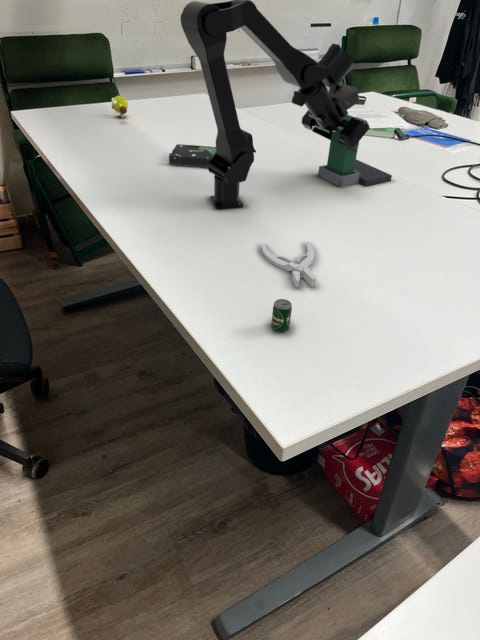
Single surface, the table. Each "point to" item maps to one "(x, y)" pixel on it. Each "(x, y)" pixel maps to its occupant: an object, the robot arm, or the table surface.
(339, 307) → the table surface
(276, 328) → the beer can
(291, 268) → the pliers
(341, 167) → the green rectangular block
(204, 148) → the disk drive
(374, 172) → the compartment tray
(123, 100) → the toy figure
